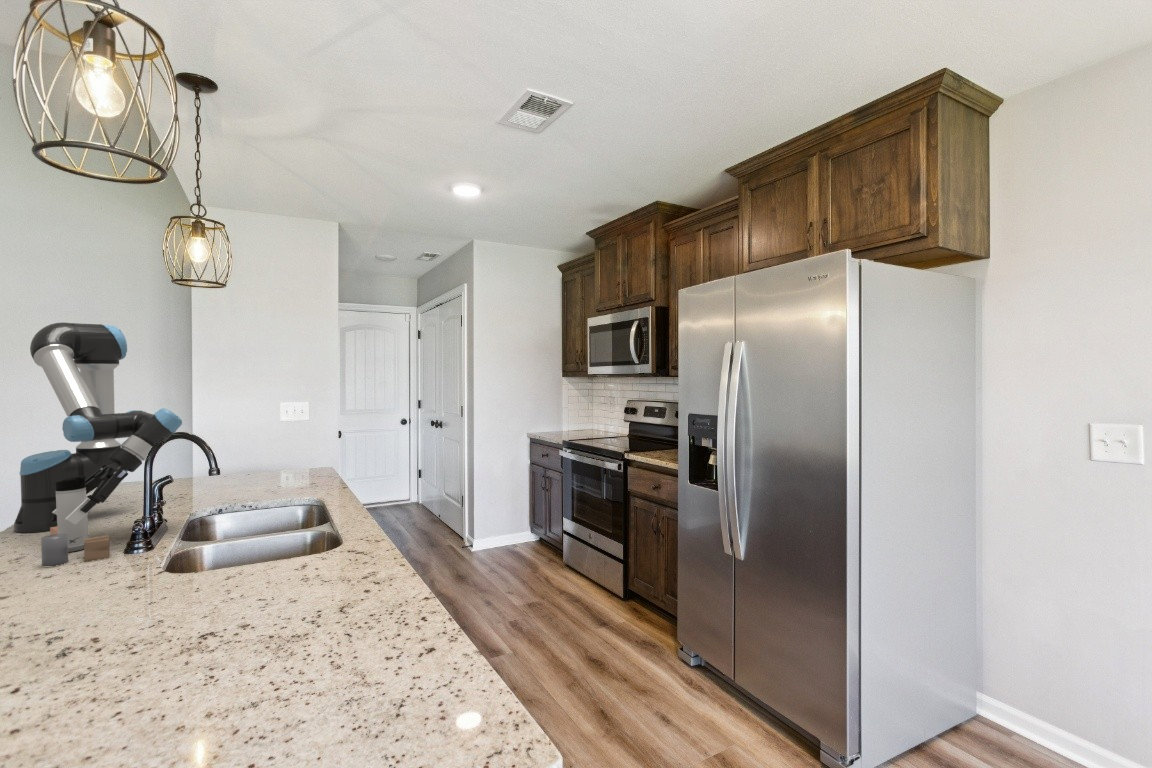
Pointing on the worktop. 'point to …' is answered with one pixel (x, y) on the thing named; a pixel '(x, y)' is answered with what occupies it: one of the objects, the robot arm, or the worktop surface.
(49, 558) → the grey cylinder
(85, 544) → the walnut block
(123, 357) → the robot arm
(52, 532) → the terracotta brick
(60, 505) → the travel mug
